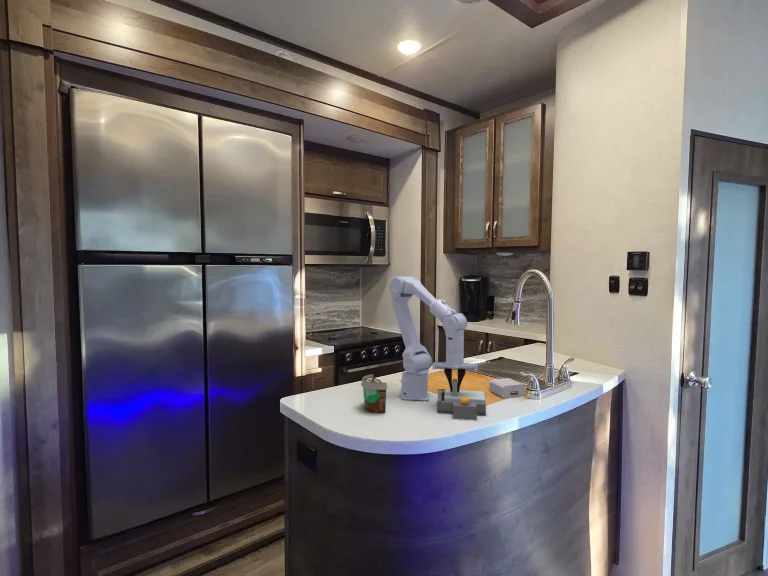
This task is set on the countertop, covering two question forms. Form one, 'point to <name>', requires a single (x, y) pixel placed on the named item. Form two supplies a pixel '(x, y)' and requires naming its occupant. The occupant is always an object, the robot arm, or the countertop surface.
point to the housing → (460, 408)
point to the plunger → (464, 400)
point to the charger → (507, 388)
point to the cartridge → (463, 394)
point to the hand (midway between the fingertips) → (454, 391)
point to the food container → (374, 394)
